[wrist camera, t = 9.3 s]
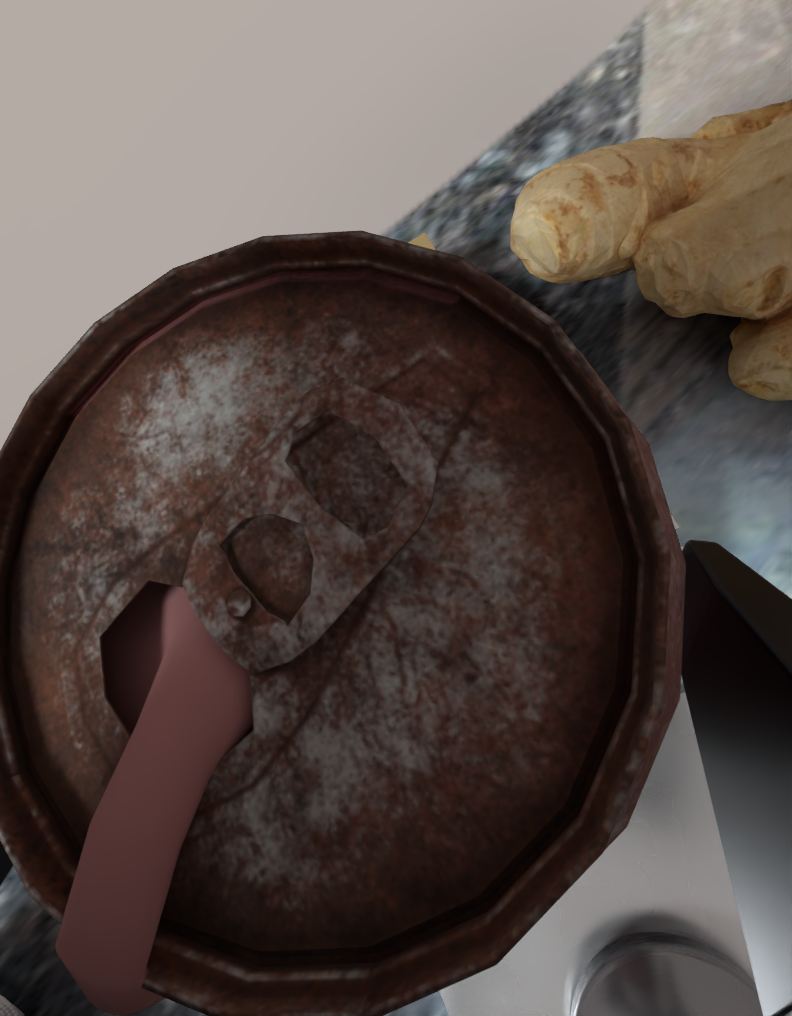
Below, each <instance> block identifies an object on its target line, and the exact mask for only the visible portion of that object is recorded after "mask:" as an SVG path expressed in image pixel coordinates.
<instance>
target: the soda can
mask: <svg viewBox="0 0 792 1016" xmlns="http://www.w3.org/2000/svg"><path fill="white" fill-rule="evenodd" d="M0 1016H25V1015H24V1014H23V1013H22V1012H21V1011H20V1010H19V1009H18V1008H17V1007H16V1006H14V1005H13V1004H11V1003H10V1002H9V1001H8V1000H7V999H6V998H5V997H3V996H2V995H0Z"/></svg>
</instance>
